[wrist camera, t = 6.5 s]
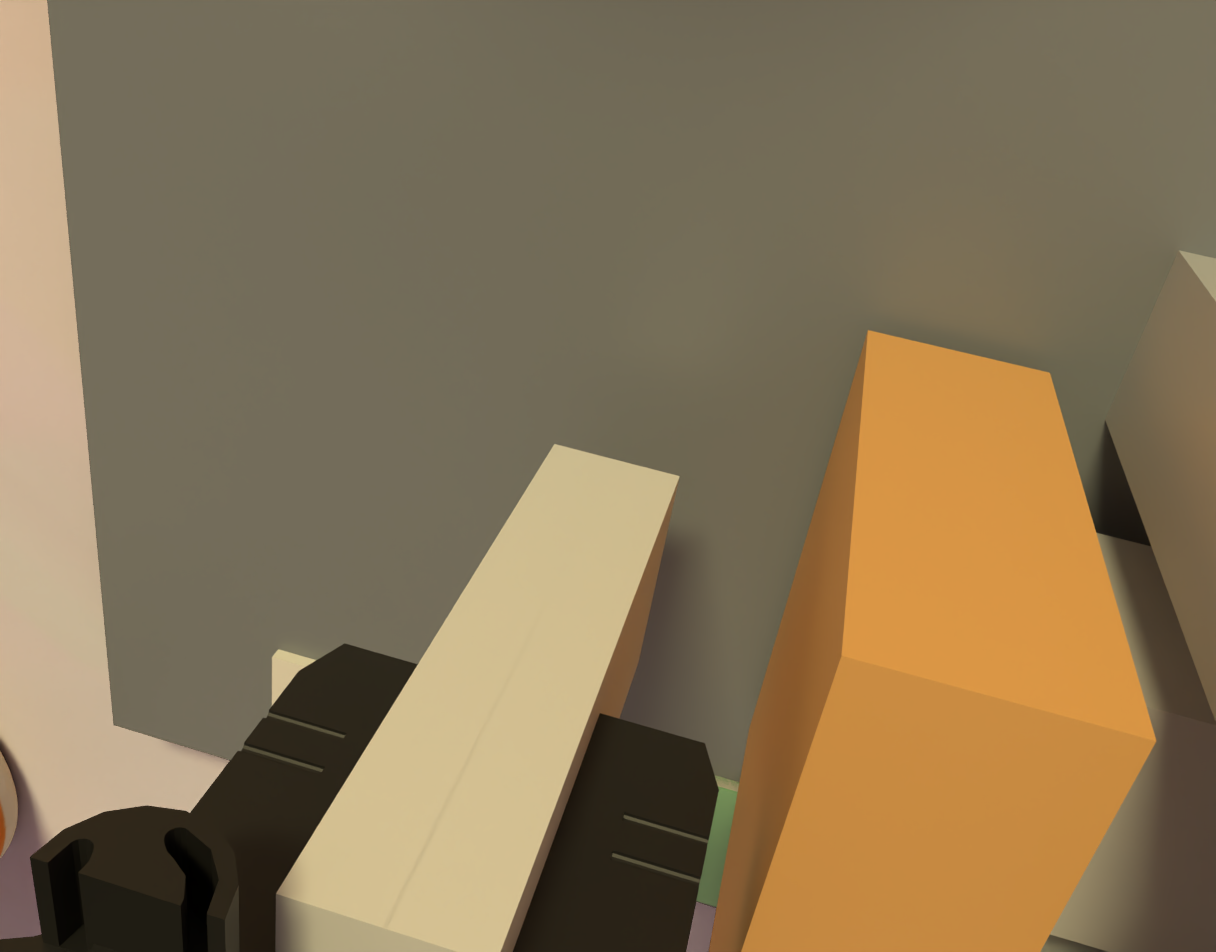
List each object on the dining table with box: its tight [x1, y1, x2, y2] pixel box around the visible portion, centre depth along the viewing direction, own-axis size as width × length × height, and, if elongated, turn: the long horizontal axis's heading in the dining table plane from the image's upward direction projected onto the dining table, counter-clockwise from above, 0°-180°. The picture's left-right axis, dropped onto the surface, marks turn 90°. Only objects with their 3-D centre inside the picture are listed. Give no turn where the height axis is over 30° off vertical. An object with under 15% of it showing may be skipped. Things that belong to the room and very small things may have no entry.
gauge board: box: [47, 0, 1216, 952], centre depth 11 cm, size 19×14×9 cm
